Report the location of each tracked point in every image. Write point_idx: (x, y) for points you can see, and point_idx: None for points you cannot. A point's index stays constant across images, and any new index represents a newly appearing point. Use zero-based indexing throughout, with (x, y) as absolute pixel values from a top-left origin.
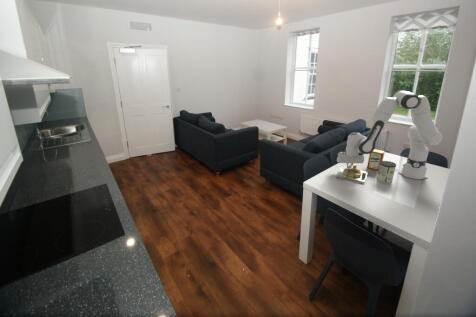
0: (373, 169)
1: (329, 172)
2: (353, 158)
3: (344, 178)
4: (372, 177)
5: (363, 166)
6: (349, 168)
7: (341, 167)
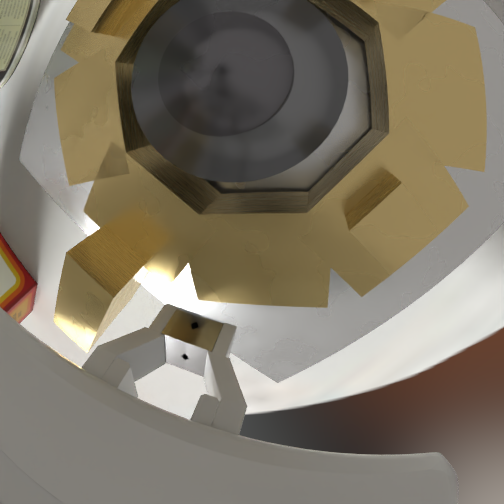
0: (8, 247)
1: (494, 306)
2: (26, 484)
3: (486, 18)
4: (36, 69)
5: None
6: (228, 272)
7: (292, 374)
